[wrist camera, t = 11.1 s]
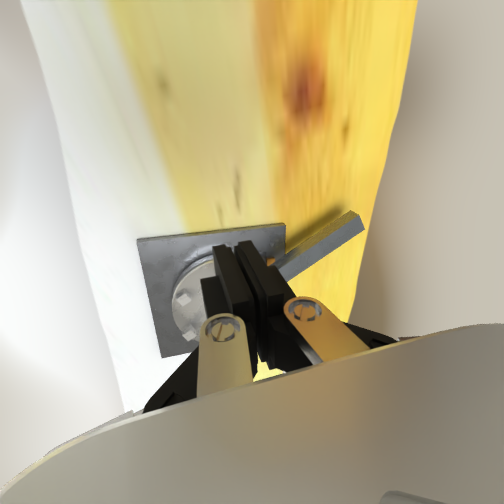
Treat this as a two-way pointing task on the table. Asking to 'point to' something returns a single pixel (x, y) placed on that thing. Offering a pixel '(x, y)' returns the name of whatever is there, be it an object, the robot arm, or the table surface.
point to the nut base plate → (182, 256)
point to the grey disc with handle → (297, 260)
